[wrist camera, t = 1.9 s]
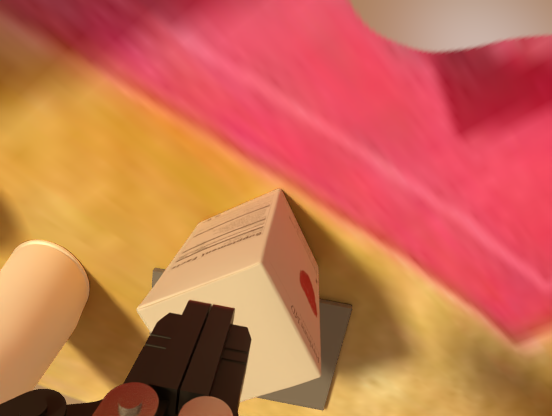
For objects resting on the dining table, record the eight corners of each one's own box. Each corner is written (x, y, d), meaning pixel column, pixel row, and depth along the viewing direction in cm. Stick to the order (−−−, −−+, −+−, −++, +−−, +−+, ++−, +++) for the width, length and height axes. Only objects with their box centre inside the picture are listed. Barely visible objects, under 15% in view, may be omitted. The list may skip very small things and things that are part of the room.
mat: (351, 304, 42) (352, 308, 41) (323, 406, 48) (323, 410, 47) (155, 267, 42) (152, 271, 42) (149, 372, 48) (147, 376, 47)
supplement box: (321, 268, 40) (326, 382, 26) (238, 299, 42) (201, 420, 28) (282, 184, 38) (263, 260, 24) (195, 221, 40) (130, 311, 26)
